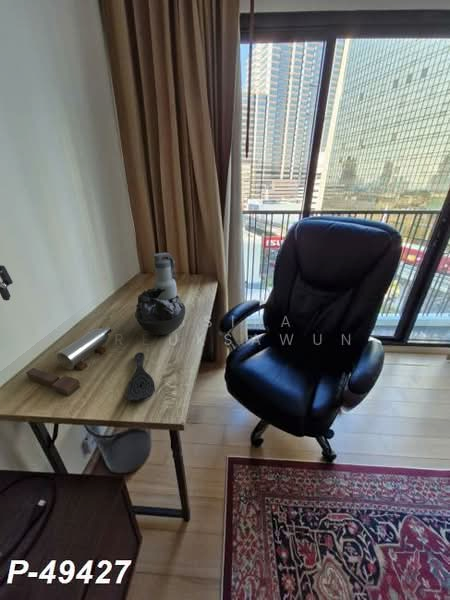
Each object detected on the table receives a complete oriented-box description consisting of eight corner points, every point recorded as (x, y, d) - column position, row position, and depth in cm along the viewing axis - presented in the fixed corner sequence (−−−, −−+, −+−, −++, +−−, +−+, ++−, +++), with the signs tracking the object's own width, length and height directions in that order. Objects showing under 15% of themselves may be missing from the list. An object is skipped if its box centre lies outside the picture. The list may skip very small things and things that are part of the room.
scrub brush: (26, 381, 81) (22, 374, 80) (39, 372, 85) (36, 365, 84) (68, 397, 75) (65, 389, 74) (81, 386, 79) (78, 379, 78)
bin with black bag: (157, 315, 118) (150, 278, 109) (195, 322, 112) (192, 283, 103) (128, 339, 101) (119, 298, 93) (172, 349, 95) (165, 305, 86)
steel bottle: (77, 374, 84) (70, 355, 80) (60, 368, 86) (52, 350, 83) (119, 340, 100) (115, 323, 97) (103, 337, 103) (99, 320, 99)
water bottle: (174, 303, 129) (168, 249, 117) (182, 310, 122) (176, 254, 109) (155, 308, 124) (146, 253, 112) (162, 316, 117) (153, 258, 104)
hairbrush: (150, 345, 93) (154, 392, 71) (151, 353, 94) (156, 402, 72) (126, 350, 90) (123, 400, 69) (128, 358, 92) (126, 410, 70)
